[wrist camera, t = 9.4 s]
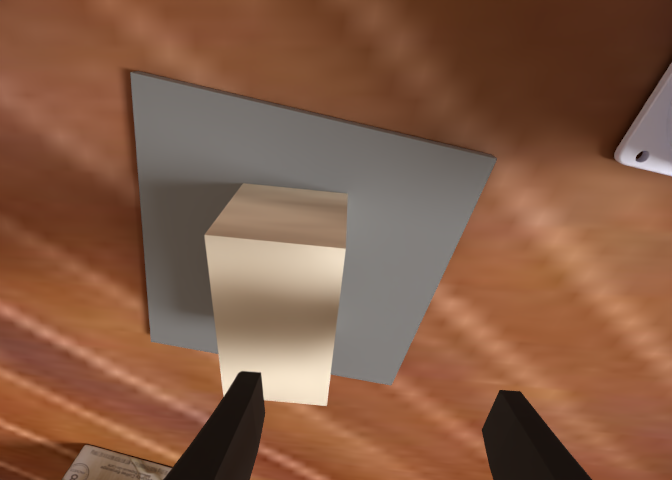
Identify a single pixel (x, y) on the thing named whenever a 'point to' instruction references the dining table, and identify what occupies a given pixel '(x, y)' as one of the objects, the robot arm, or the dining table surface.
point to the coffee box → (112, 466)
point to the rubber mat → (301, 173)
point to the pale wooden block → (278, 288)
